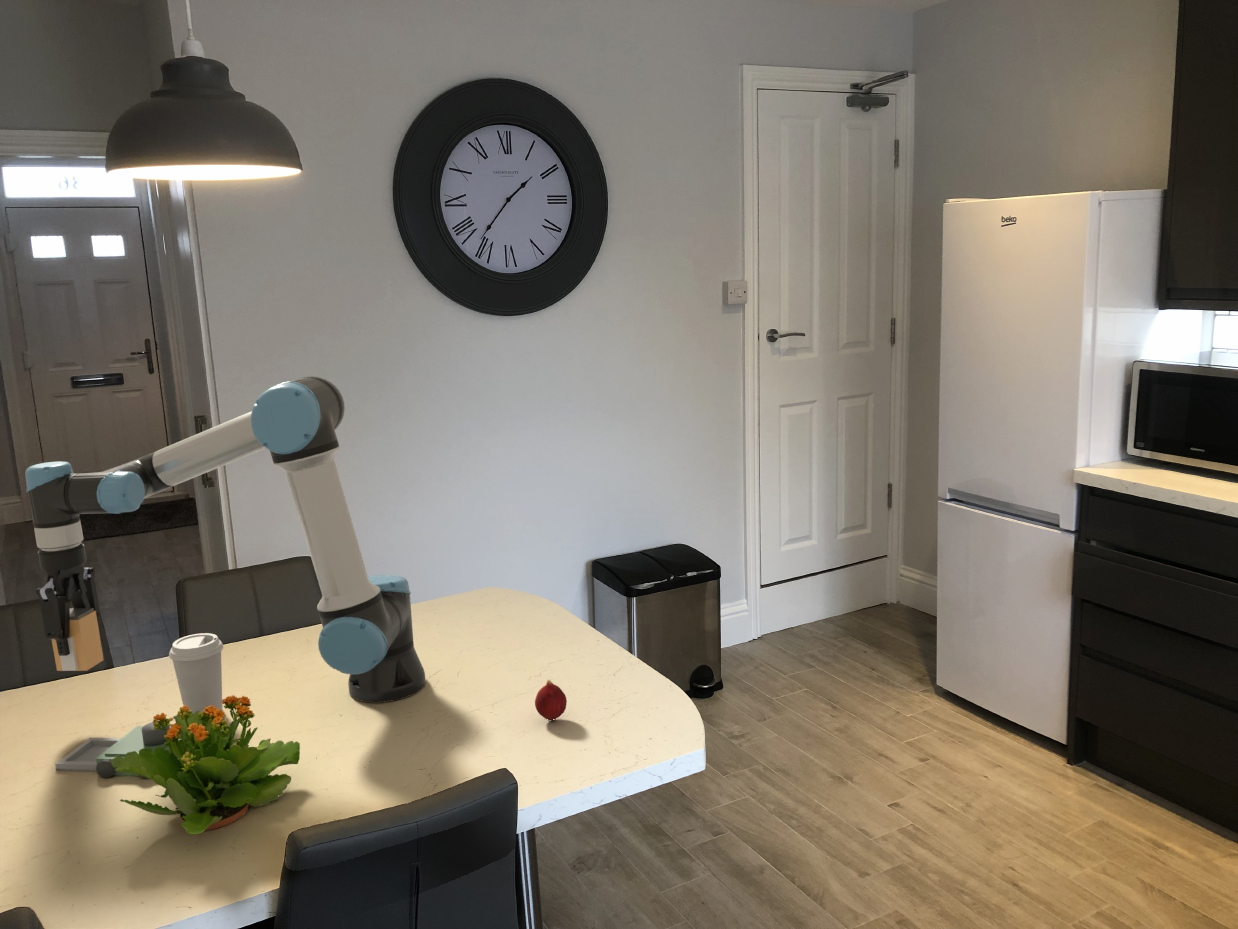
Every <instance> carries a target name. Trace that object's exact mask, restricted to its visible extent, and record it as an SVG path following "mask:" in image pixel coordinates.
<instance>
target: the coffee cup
mask: <svg viewBox="0 0 1238 929" xmlns="http://www.w3.org/2000/svg"><path fill="white" fill-rule="evenodd" d="M171 645H172V647H171V648H170V650H169V652H168V653H169V654H168V658H170V660H172V664H173V668H174V672H175V676H176V679H177V680H176V681H177V684H178V689H179V693H180V698H181V701H182V707H183V706H184V705H187V706H188V707H189V708H190V709H189V710H188V712H189V711H190V710H192V713H193V714H194V712H196V711H200V712H202V711H203V710H205V709H204V708H206V707H207V706H214V707H215V708H216V707H218V710H222V711H223V704H222V700H223V680H222V679H223V678H222V675H223V674H222V672H223V671H222V651H223V649H224V644H223V642H222V641H221V639H219V637H218V635H216V634H214V633H211V632H210V633H209V632H205V633H203V632H202V633H201V632H200V633H195V634H190V635H187V636H186V635H185V636H183V637H180V638H178V639H176V640H175V641H174V642H172V644H171Z"/></svg>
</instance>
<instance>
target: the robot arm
mask: <svg viewBox="0 0 1238 929" xmlns="http://www.w3.org/2000/svg"><path fill="white" fill-rule="evenodd" d="M345 406H346V405H345V401H344V397H343V395H342V393H341V391H340V390H339V389H338V388H337V386H336V385H335V384H333V383H332V382H331V381H329V380H327V379H326V378H323V377H319V376H312V375H311V376H304V377H300V378H299V377H298V378H297V379H294V380H289V381H284V382H282V381H281V383H278V384H274V385H273V386H271V387H270V388H269V389H267V390H265V391H264V392H262V393H261V394H260V395H259V396H258V397H257V399H256V401H255V402H254V404H253V406H252V410H251V411H250V412H246V413H243V414H242V415H239V416H237V417H235V418H232V419H230V420H227V421H225V422H223V423H221V424H217V425H215V426H213V427H211V428H208V429H206V430H204V431H201V432H199V433H197V434H194V435H192V436H190V437H186V438H184V439H182V440H180V441H177V442H175V443H172V444H170V445H168V446H165V447H163V448H161V449H159V450H156V451H154V452H151V453H149V454H148V453H147V454H146V455H144V456H141V457H139V458H136V459H134V460H132V461H127V462H126V463H123V464H120V465H118V466H115V467H112V468H109V469H106V470H104V471H99V472H84V473H83V472H82V473H81V472H74V469H73V467H72V465H71V463H70V462H68V461H63V460H62V461H61V460H60V461H49V462H41V463H36V464H34V465H30V466H29V467H27V468H26V470H25V476H24V477H25V482H26V483H25V485H26V489H25V490H26V492H25V493H27V498H28V502H29V508H30V512H31V517H32V525H33V527H34V528H33V529H34V536H35V542H36V546H37V548H39V549H38V551H37V555H38V562H39V567H40V569H41V570H42V571H44V572H45V573H46V580H45V585H44V586H43V587H38V588H36V590H35V594H36V596H37V598H38V600H39V603H40V610H41V616H42V622H43V623H42V624H43V628H44V635H45V638H46V639H47V640H52V639H55V640H56V643H57V648H58V654H59V656H60V660H61V665H62V671H61V672H67V671H68V672H69V671H71V672H73V671H74V672H75V671H76V670H78V663H77V657H76V651H75V645H74V639H73V636H69V627H70V608H71V605H70V604H72V608H94V611H96V616H97V622H98V623H99V621H100V620H99V618H100V616H101V609H100V604H99V603H100V602H99V598H98V593H97V587H96V581H95V578H96V577H95V575H96V574H95V573H96V569H95V567H84V564H86V562H87V555H86V548H85V544H84V543H83V541H84V535H83V528H82V527H83V526H82V524H81V518H80V515H87V514H88V515H89V514H92V515H93V514H114V515H115V514H116V515H117V514H118V515H120V514H122V513H131V512H135V511H136V510H138V509H139V508H140V507H141V504H143V502H144V500H145V499H146V498H149V497H151V496H153V495H156V494H160V493H162V492H163V491H165V490H168V489H171V488H172V487H174V486H177V485H179V484H181V483H185V482H187V481H189V480H192V479H194V478H196V477H199V476H201V475H203V474H207V473H208V472H212V471H215V470H216V469H220V468H221V467H224V466H226V465H228V464H231V463H234V462H236V461H238V460H240V459H244V458H245V457H248V456H250V455H253V454H255V453H257V452H260V451H263V450H265V449H266V450H269V452H270V456H271V460H272V462H273V465H274V466H275V467H277V468H279V469H280V470H283V471H284V472H285V474H286V478H287V481H288V484H289V487H290V491H291V494H292V498H293V501H294V504H295V507H296V511H297V516H298V517H299V521H300V525H301V528H302V532H303V534H304V539H305V541H306V545H307V548H308V552H309V555H310V558H311V561H312V566H313V567H314V568H313V569H314V572H315V575H316V578H317V581H318V585H319V589H320V592H321V598H320V600H319V602H318V604H317V605H316V610H317V612H318V615H319V620H320V622H321V625H322V629H321V632H320V633H319V636H318V643H317V644H318V652H319V654H320V655H321V656H320V657H321V658H322V659H323V661H324V663H326V664H327V665H328V666H329V667H330V668H331V669H334V670H336V671H337V672H340V673H342V674H346V675H349V677H348V683H347V684H348V693H349V695H350V697H352V698H353V699H355V700H357V701H361V702H366V703H387V702H388V703H389V702H394V701H398V700H402V699H405V698H409V697H410V696H413V695H415V694H417V693H419V692H420V691H422V689H423V688H424V687H425V686H426V685H425V684H426V673H425V672H426V671H425V669H424V667H423V664H422V662H421V661H420V657H419V656H418V654H417V651H416V649H415V644H414V643H415V642H414V632H413V620H412V619H413V617H412V607H411V604H412V603H411V593H412V592H411V590H410V585H409V581H408V579H407V578H405V577H403V576H401V575H395V574H394V575H393V574H385V575H384V574H383V575H381V574H380V575H371V576H368V572H367V569H366V565H365V564H364V563H365V562H364V558H363V557H362V552H361V549H360V548H361V547H360V545H359V542H358V538H357V535H356V531H355V528H354V525H353V521H352V517H351V514H350V510H349V507H348V504H347V503H348V502H347V499H346V496H345V493H344V490H343V486H342V482H341V480H340V475H339V472H338V469H337V466H336V461H335V457H336V454H337V453H338V451H339V449H340V444H339V440H338V437H337V433H336V430H337V428H338V427H340V425H341V423H342V421H343V418H344V417H345V409H346V408H345ZM62 631H63V632H62Z"/></svg>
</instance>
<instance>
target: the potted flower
mask: <svg viewBox="0 0 1238 929" xmlns="http://www.w3.org/2000/svg"><path fill="white" fill-rule="evenodd" d="M222 705H223V707H224V709H228V710H229V709H230V710H229V714H230V716H231V718H232V721H231V722H230V724H229V725H228V723H227V719H224V717H225V711H223V709H222V710H218V707H216V708H215V707H214V706H207V707H206V708H204V709H205V710H203V711H202V712H200V711H196V712H194V714H193V713H192V710H190V711H189V712H188V710H189V709H190V708H189V707H188V706H187V705H184V706H183V705H182V706H180V707H179V708H178V709H179V710H178V711H177V713H176V715H174V716H173V717H169V718H167V714H165V713H164V712H161V714H155V715H154V716H153V717H152V718H153V720H152V722H153V725H154V727H153V728H154V730H158V729H161V730H163V732H164V734H165V736H164V738H166V740H167V742H165V743H164V744H165V745H164V746H167V747H168V748H169V751H168V750H165V748H162V747H156V748H155V750H154V752H153V751H152V749H150V748H149V749H147V748H143V749H140V750H139V754H138V753H137V752H136V751H133V752H128V753H127V754H125V755H124V756H125V757H124V758H123V757H121V756H118V755H116V756H115V758H113V759H112V760H111V764H112V766H113V768H116V767H117V770H116V769H115V770H116V772H125V773H133V774H137V775H141V776H144V777H147V778H148V779H150V780H151V781H153V782H154V783H155V784H156V785H158V786H160V787H162V788H164V789H165V791H164V794H162V795H161V794H160V795H159V794H155V796H158V797H160V798H163V799H165V798H167V797H169V798H170V800H171V801H172V802H173V804H174V805H175V806H176V807H175V809H174V810H172V809H170V808H169V807H167V806H164V807H163V806H162V805H159V804H158V803H155V804H153V803H152V802H151V801H147V802H145V801H141V800H138V801H136V800H128V799H122V798H121V799H120V800H119V802H123V803H125V804H128V805H130V806H133V807H135V808H139V809H140V810H142V811H146V812H148V813H151V814H156V815H161V816H172V815H173V816H174V815H179V817H180V819H181V822H182V823H181V827H182V828H183V829H185V832H186V833H187V834H189V835H199V834H202V833H204V832H205V831H209V830H217V829H218V828H222V827H225V826H228V825H229V824H232V823H234V822H235V821H237V820H238V819H240V818H242V817H243V816H244V815H246V813H247V811H248V810H249V809H248V808H249V806H250V807H254V808H260V807H261V806H267V805H268V804H270V802H274V801H276V800H278V799H279V796H281V795H283V794H284V791H285V790H286V789H287V788H288V786H289V785H290V783H291V781H292V776H290V775H288V774H286V773H283V774H282V773H281V774H280V775H279V774H278V773H275V774H273V775H272V774H271V773H272V772H273V771H275V770H276V769H278V768H279V767H283V766H288V765H297V764H299V761H300V756H301V755H300V754H301V752H300V750H301V743H300V742H298V741H293V740H290V741H288V742H284V741H283V740H277V741H276V742H271V740H272V738H271V737H269V738H267V739H262V740H261V741H260V742H259V743H258V746H250V745H249V743H250V741H251V740H252V739H253V736H254V735H255V733H256V732H257V730H258V729H259V727H258V726H257V727H254V728H253V729H251V728H252V727H251V725H252V721H251V720H250V719H253V718H254V717H255V716H256V715H255V713H254V711H253V710H251V709H250V708H251V706H252V704H251V698H249V697H248V696H244V695H242V696H241V697H237V696H235V695H230V696H229V695H228V696H226V697H225V698H222ZM172 721H175V723H173V724H172V723H171V722H172ZM239 725H240V726H242V730H241V734H240V737H239V738H235V736H236V732H237V729H238V727H239ZM166 726H171V727H169V728H170V729H168V731H167V735H166V732H165V730H164V729H165V728H166ZM161 727H162V728H161ZM247 728H248V730H247ZM251 730H252V731H251ZM234 738H235V739H234ZM178 739H181V740H178ZM177 758H178V759H177Z"/></svg>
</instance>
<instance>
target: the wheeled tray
mask: <svg viewBox="0 0 1238 929" xmlns="http://www.w3.org/2000/svg"><path fill="white" fill-rule="evenodd" d="M153 727H154V725H153V721H151V722H149V723H146V724H145V725H136V726H134V728H132V730H130V731H129V732H127V733H126V734H125V735H124V736H122V737H89V738H88V739H86V740H85V741H83V743H81V744H80V745H79V746H77V747H75V748H74V749H73V750H72V751H71V752H69V753H68V754H66V755H65V756H64V757H63V758H61V759H59V760H58V761H57V762H55V770H56V771H68V772H69V771H70V772H71V771H72V772H74V771H77V772H83V771H84V772H96V773H97V775H98V776H99V777H101V778H103V779H108V778H110V777H113V776H129V777H131V776H133V777H134V776H137V777H139V778H140V779H142V780H143V779H144V780H147V779H149V778H147V777H144V776H141V775H137V774H133V773H125V772H116V770H117V767H116V768H113V766H112V764H111V760H112V759H113V758H115V756H116V755H118V756H121V757H123V758H124V757H125V756H124V755H125V754H127V753H128V752H133V751H136V752H137V753H138V754H139V750H140V749H143V748H147V749H149V748H150V749H152V751H153V752H154V750H155V748H156V747H162V748H165V750H168V751H169V748H168V747H167V746H164V745H165V744H164V743H165V742H167V740H166V738H164V736H165V734H164V732H163V730H161V729H158V730H154V728H153ZM169 727H171V726H166V728H165V729H164V730H165V732H166V735H167V731H168V729H170V728H169ZM161 728H162V727H161ZM178 740H181V739H178ZM177 759H178V758H177ZM115 769H116V770H115Z"/></svg>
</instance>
